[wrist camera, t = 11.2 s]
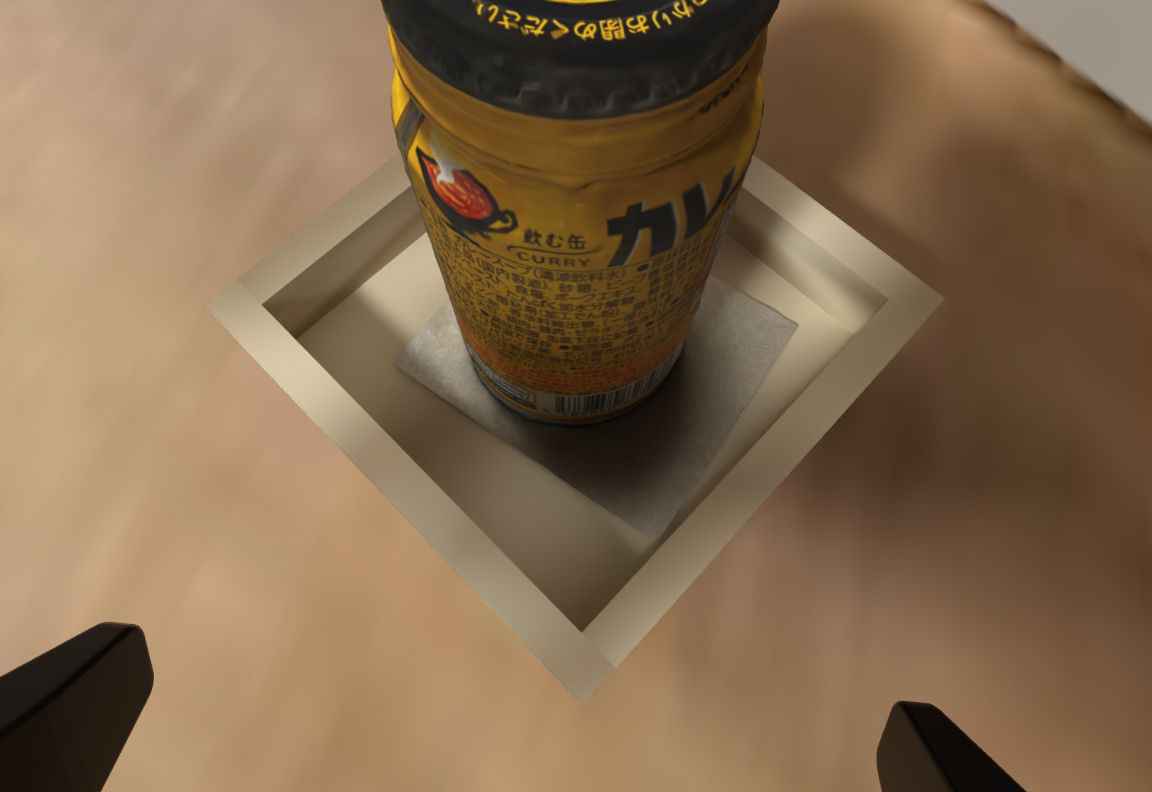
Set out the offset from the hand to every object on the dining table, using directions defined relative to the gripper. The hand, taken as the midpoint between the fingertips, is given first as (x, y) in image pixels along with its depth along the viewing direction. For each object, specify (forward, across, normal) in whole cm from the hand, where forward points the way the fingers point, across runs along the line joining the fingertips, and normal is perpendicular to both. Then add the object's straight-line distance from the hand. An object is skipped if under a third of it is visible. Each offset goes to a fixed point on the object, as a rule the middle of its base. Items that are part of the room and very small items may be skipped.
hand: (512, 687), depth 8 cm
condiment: (+12, -1, 0) cm, 12 cm away
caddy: (+13, 0, 0) cm, 13 cm away
